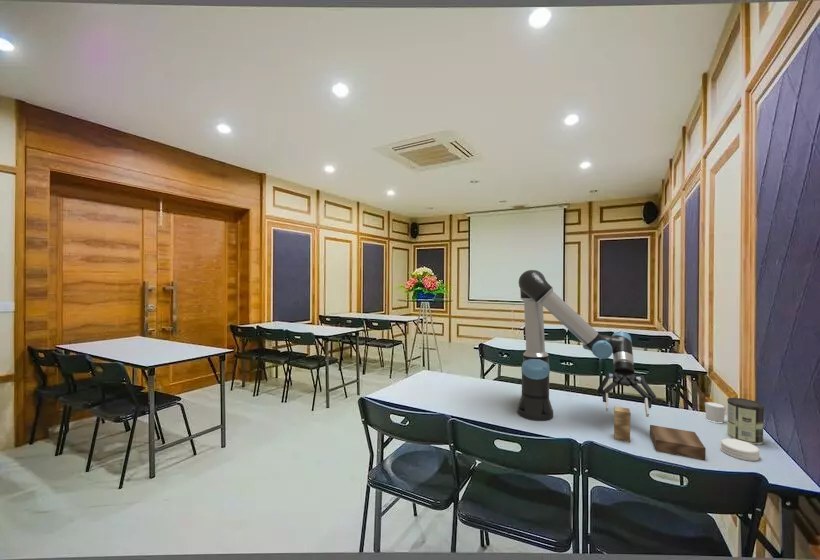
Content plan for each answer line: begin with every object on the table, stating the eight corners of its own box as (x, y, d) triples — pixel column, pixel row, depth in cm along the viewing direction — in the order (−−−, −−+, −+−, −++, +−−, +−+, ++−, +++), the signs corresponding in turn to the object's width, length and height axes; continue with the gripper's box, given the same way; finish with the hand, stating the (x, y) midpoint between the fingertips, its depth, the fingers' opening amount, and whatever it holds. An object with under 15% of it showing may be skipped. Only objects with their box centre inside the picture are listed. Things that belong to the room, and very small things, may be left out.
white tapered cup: (703, 420, 153) (704, 404, 153) (705, 416, 158) (705, 400, 158) (725, 425, 149) (725, 408, 148) (725, 420, 154) (726, 404, 154)
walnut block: (655, 450, 127) (655, 439, 127) (649, 434, 140) (650, 424, 140) (705, 460, 121) (705, 448, 121) (694, 442, 133) (694, 432, 133)
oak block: (614, 439, 136) (615, 410, 136) (614, 434, 141) (614, 406, 140) (630, 442, 134) (630, 413, 134) (628, 436, 138) (629, 408, 138)
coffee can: (750, 433, 141) (751, 398, 141) (770, 446, 131) (771, 408, 131) (720, 431, 143) (720, 396, 143) (738, 443, 133) (739, 406, 133)
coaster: (713, 449, 129) (713, 439, 129) (734, 446, 131) (734, 436, 131) (744, 463, 119) (745, 453, 119) (767, 459, 122) (767, 449, 122)
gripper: (657, 373, 150) (664, 422, 137) (590, 366, 161) (591, 411, 148) (659, 363, 145) (667, 413, 132) (591, 357, 156) (591, 403, 143)
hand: (627, 412), depth 140 cm, fingers open, 13 cm apart
